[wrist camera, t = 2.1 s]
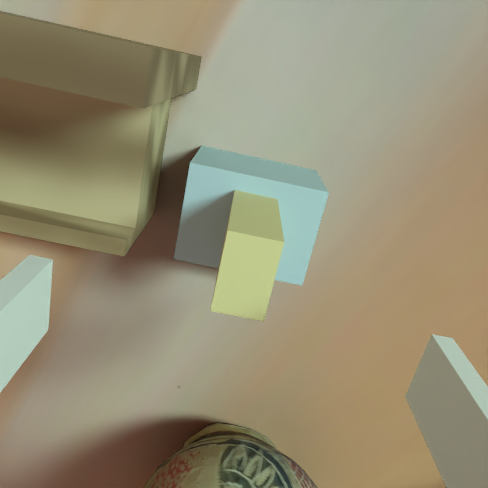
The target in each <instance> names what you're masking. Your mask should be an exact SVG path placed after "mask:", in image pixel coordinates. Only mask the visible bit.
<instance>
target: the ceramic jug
mask: <svg viewBox="0 0 488 488" xmlns="http://www.w3.org/2000/svg"><path fill="white" fill-rule="evenodd" d="M179 388H181V387H179ZM143 488H317V486H316V485H315V484H314V482H313V481H312V480H311V478H310V477H309V476H308V475H307V474H306V472H305V471H304V470H303V469H302V468H301V467H300V466H299V465H298V464H296V463H295V462H294V461H293V460H292V459H290V458H289V457H287V456H286V455H284V454H283V453H281V452H280V451H278V450H277V449H276V448H275V447H274V445H273V444H272V442H271V441H270V440H269V439H268V438H267V437H265V436H263V435H261V434H259V433H257V432H255V431H253V430H251V429H248V428H243V427H239V426H235V425H230V424H222V423H216V424H212V425H208V426H207V427H205V428H204V429H202V430H201V431H200V432H198V433H197V434H195V435H193V436H192V437H190V438H189V439H188V440H187V441H186V442H185V443H184V445H183V447H182V449H181V450H179V451H177V452H176V453H174V454H173V455H172V456H171V457H169V458H168V459H167V460H166V461H165V462H163V463H162V464H161V465H160V466H159V467H158V468H157V469H156V471H155V472H154V474H153V475H152V476H151V478H150V479H149V480H148V481H147V483H146V484H145V486H144V487H143Z"/></svg>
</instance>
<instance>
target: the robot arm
mask: <svg viewBox="0 0 488 488" xmlns="http://www.w3.org/2000/svg"><path fill="white" fill-rule="evenodd" d="M52 265H53V259H48V258H43V257H37V256H32V255H29V256H28V257H27V258H25V259H24V260H23V261H22V262H21V263H20V264H19V265H17V266H16V267H15V268H14V269H13V270H12V271H10V272H9V273H8V274H7V275H6V276H5V277H4V278H2V279H1V280H0V393H1V391H2V390H3V389H4V387H5V386H6V385H7V383H8V382H9V381H10V379H11V378H12V377H13V375H14V374H15V373H16V372H17V370H18V369H19V368H20V366H21V365H22V364H23V362H24V361H25V360H26V358H27V357H28V356H29V354H30V353H31V352H32V351H33V349H34V348H35V347H36V345H37V344H38V343H39V341H40V340H41V339H42V337H43V336H44V335H45V333H46V332H47V331H48V327H49V312H50V296H51V281H52ZM405 397H406V400H407V402H408V404H409V406H410V408H411V411H412V413H413V415H414V417H415V419H416V422H417V424H418V426H419V428H420V430H421V433H422V435H423V437H424V439H425V441H426V444H427V446H428V448H429V450H430V452H431V455H432V457H433V459H434V461H435V464H436V466H437V468H438V470H439V472H440V475H441V477H442V479H443V481H444V483H445V486H446V488H488V387H487V385H486V384H485V382H484V381H483V380H482V378H481V377H480V376H479V374H478V373H477V371H476V370H475V369H474V367H473V366H472V364H471V363H470V362H469V360H468V359H467V357H466V356H465V355H464V353H463V352H462V351H461V349H460V348H459V346H458V345H457V344H456V342H455V341H454V339H453V338H449V337H443V336H438V335H433V334H432V335H431V337H430V340H429V342H428V344H427V347H426V349H425V351H424V354H423V356H422V358H421V361H420V363H419V366H418V368H417V370H416V373H415V375H414V377H413V380H412V382H411V384H410V387H409V389H408V392H407V394H406V396H405Z"/></svg>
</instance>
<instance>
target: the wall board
mask: <svg viewBox="0 0 488 488" xmlns="http://www.w3.org/2000/svg"><path fill="white" fill-rule="evenodd" d="M200 63H201V56H196V55H192V54H187V53H183V52H179V51H174V50H170V49H165V48H161V47H157V46H152V45H148V44H143V43H139V42H135V41H130V40H126V39H121V38H117V37H113V36H108V35H104V34H99V33H95V32H91V31H86V30H82V29H77V28H73V27H69V26H64V25H60V24H55V23H51V22H47V21H42V20H38V19H33V18H29V17H25V16H20V15H16V14H11V13H7V12H3V11H0V231H1V232H6V233H11V234H16V235H20V236H25V237H30V238H35V239H40V240H45V241H50V242H55V243H60V244H65V245H70V246H75V247H80V248H84V249H89V250H94V251H99V252H104V253H109V254H114V255H119V256H125V255H126V254H127V252H128V251H129V249H130V248H131V246H132V245H133V243H134V242H135V241H136V239H137V238H138V236H139V235H140V233H141V232H142V231H143V229H144V228H145V226H146V225H147V223H148V222H149V220H150V219H151V218H152V216H153V215H154V211H155V204H156V197H157V191H158V184H159V177H160V170H161V164H162V157H163V150H164V143H165V137H166V130H167V123H168V117H169V110H170V103H171V98H174V97H176V96H179V95H182V94H184V93H187V92H190V91H193V90H195V89H196V87H197V81H198V75H199V69H200Z"/></svg>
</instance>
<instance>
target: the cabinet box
mask: <svg viewBox="0 0 488 488" xmlns="http://www.w3.org/2000/svg"><path fill="white" fill-rule="evenodd" d="M328 194H329V192H328V190H327V188H326V187H325V185H324V183H323V181H322V180H321V178H320V176H319V174H318V173H317V171H316V170H312V169H307V168H303V167H298V166H294V165H289V164H284V163H280V162H275V161H271V160H266V159H261V158H257V157H252V156H248V155H243V154H238V153H234V152H229V151H225V150H220V149H216V148H211V147H206V146H201V147H200V149H199V150H198V152H197V153H196V155H195V156H194V158H193V159H192V160H191V162H190V166H189V172H188V178H187V183H186V189H185V195H184V201H183V207H182V213H181V219H180V224H179V230H178V236H177V242H176V248H175V254H174V259H175V260H180V261H185V262H190V263H195V264H199V265H204V266H209V267H214V268H218V274H217V279H216V284H215V290H214V295H213V300H212V305H211V311H214V312H219V313H224V314H229V315H234V316H239V317H244V318H249V319H254V320H259V321H264V318H265V314H266V311H267V307H268V303H269V299H270V295H271V291H272V288H273V284H274V280H278V281H283V282H288V283H292V284H297V285H302V284H303V281H304V277H305V274H306V270H307V267H308V263H309V260H310V256H311V253H312V249H313V246H314V242H315V239H316V235H317V232H318V228H319V225H320V222H321V218H322V215H323V211H324V208H325V204H326V201H327V197H328Z"/></svg>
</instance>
